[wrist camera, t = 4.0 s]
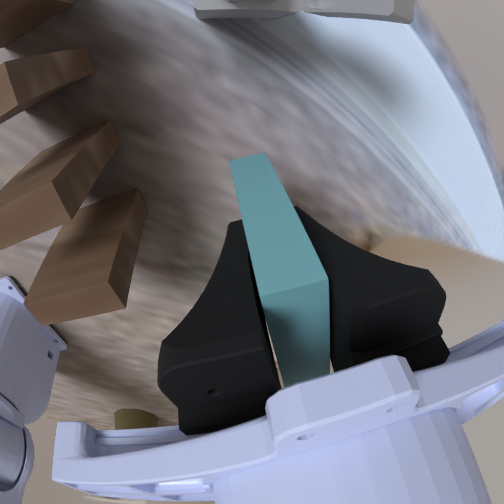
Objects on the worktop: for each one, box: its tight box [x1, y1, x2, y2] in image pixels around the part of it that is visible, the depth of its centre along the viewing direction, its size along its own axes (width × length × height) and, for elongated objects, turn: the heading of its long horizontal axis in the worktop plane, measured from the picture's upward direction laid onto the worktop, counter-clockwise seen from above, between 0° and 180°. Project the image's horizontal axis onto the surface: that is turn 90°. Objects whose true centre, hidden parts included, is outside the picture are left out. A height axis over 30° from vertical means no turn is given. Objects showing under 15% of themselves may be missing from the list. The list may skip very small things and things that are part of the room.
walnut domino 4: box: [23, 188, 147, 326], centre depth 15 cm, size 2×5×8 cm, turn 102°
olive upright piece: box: [115, 409, 157, 430], centre depth 32 cm, size 6×6×11 cm
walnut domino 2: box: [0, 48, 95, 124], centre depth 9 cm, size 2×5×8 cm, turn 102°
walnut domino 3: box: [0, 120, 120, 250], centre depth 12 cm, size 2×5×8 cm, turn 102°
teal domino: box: [229, 153, 330, 387], centre depth 12 cm, size 2×5×8 cm, turn 12°
